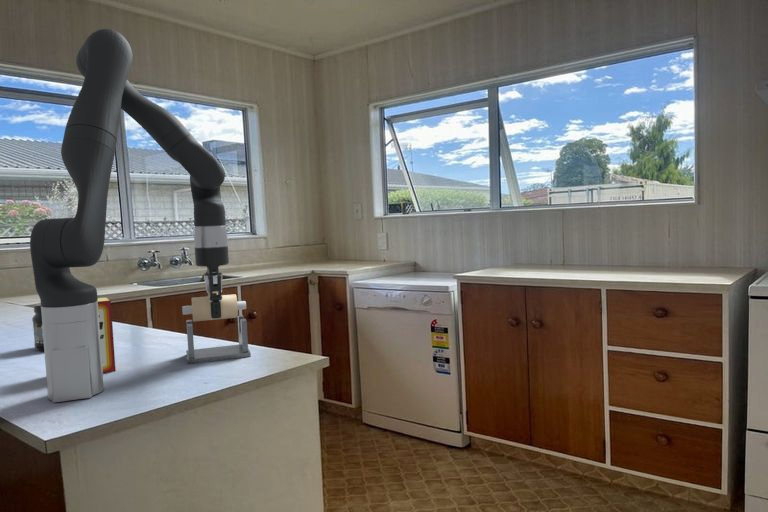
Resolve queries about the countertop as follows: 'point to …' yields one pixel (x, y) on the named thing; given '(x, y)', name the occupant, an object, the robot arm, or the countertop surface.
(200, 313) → the paper roll
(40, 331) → the supplement container
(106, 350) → the baking soda box
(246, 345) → the roll holder
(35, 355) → the countertop surface
